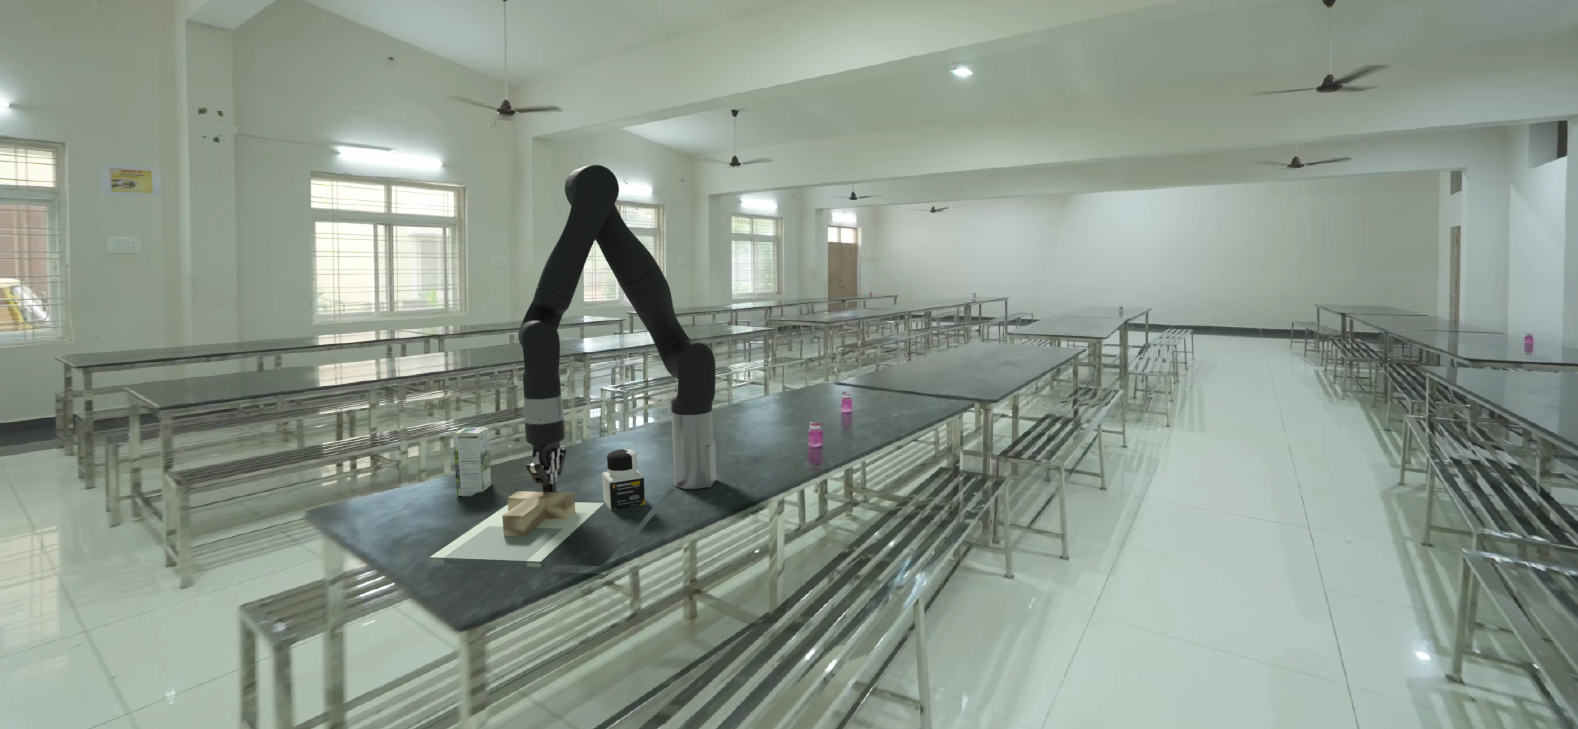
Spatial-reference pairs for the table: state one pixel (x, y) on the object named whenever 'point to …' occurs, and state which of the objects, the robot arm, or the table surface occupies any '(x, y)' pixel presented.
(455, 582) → the table surface
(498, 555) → the sage board
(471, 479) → the syrup box
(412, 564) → the table surface
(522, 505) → the wooden T-block
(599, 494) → the table surface
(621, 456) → the medicine bottle
